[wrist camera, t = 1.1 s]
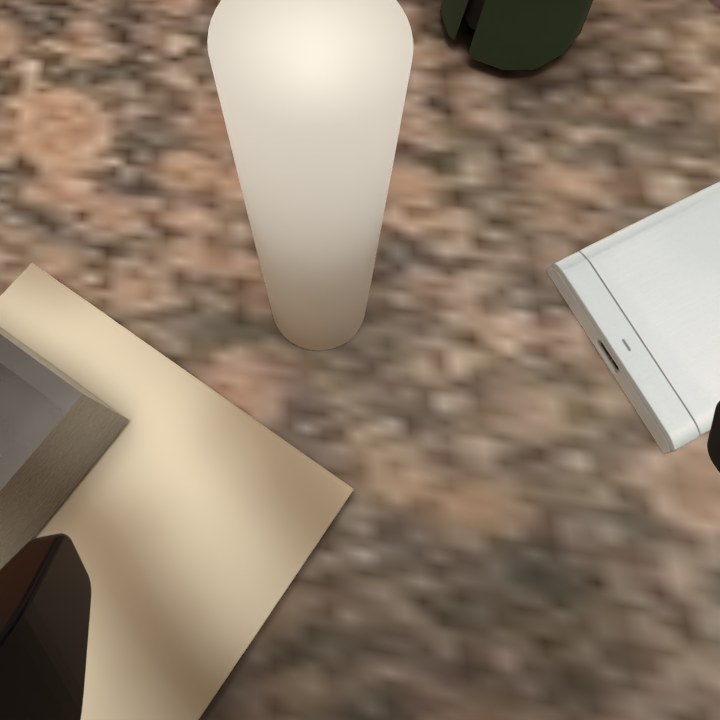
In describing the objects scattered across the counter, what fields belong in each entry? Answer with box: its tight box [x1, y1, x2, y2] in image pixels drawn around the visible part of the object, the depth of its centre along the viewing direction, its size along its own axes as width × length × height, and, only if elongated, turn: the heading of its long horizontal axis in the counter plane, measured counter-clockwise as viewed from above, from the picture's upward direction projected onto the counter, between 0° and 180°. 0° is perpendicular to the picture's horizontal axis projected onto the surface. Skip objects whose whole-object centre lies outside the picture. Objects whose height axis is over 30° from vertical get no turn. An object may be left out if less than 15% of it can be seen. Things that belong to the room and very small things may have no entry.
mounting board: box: [0, 263, 354, 720], centre depth 20 cm, size 13×14×1 cm
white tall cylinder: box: [208, 0, 413, 351], centre depth 17 cm, size 4×4×13 cm
